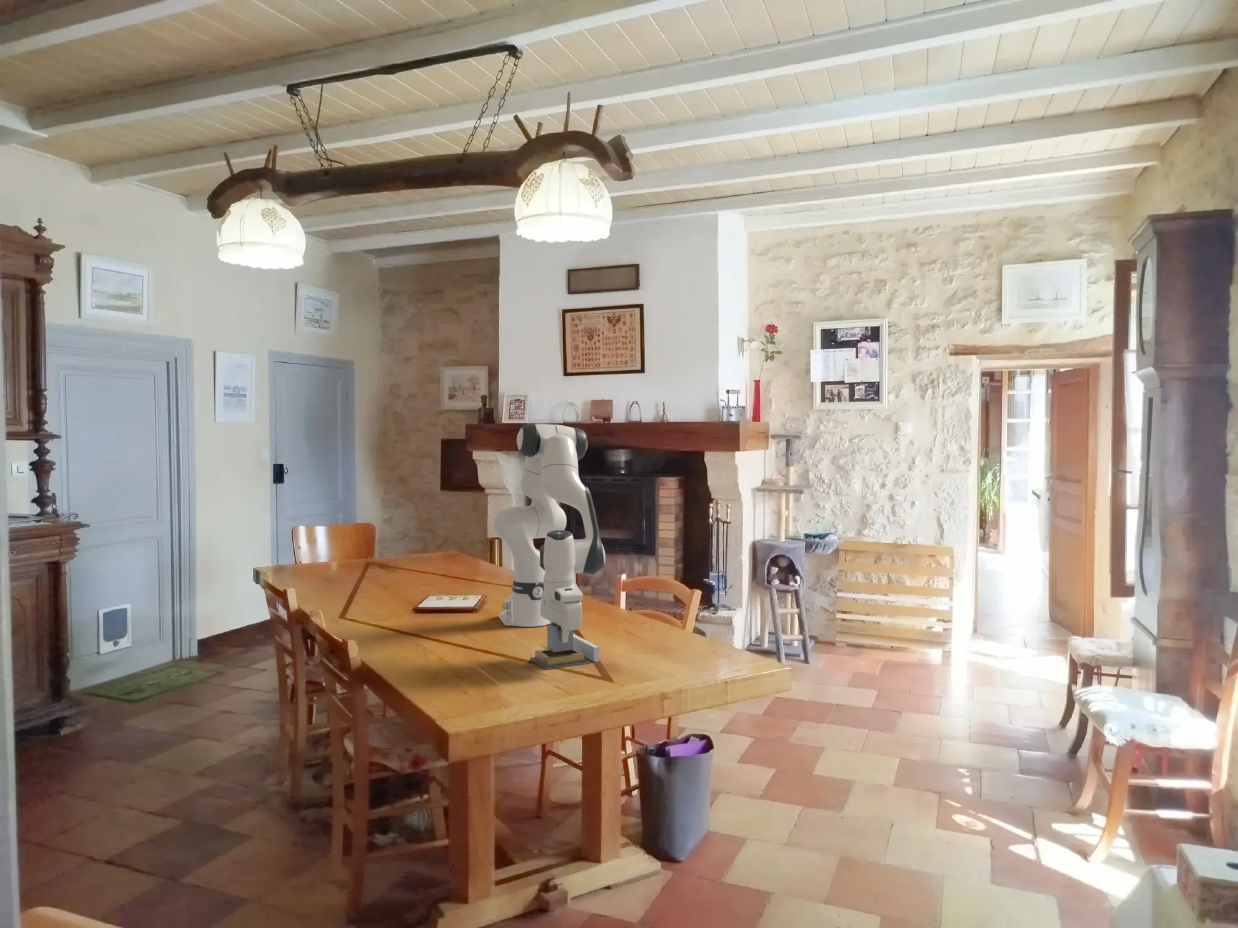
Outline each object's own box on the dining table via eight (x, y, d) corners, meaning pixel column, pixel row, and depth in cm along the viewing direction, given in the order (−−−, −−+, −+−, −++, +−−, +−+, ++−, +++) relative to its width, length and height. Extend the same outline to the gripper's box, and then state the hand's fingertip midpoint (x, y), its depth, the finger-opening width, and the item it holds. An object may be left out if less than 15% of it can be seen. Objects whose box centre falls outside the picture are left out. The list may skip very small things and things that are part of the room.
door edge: (567, 646, 246) (567, 633, 246) (571, 646, 247) (571, 632, 247) (594, 661, 231) (594, 647, 230) (599, 661, 231) (599, 646, 231)
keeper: (530, 659, 233) (530, 650, 233) (572, 653, 239) (572, 644, 239) (545, 669, 223) (545, 660, 223) (589, 663, 229) (589, 653, 229)
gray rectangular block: (547, 648, 231) (547, 623, 231) (567, 646, 234) (566, 621, 234) (553, 652, 228) (553, 626, 227) (573, 649, 231) (573, 624, 230)
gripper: (534, 585, 238) (535, 633, 238) (564, 597, 220) (564, 649, 220) (555, 583, 241) (555, 630, 241) (585, 595, 223) (586, 646, 223)
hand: (560, 639), depth 231 cm, fingers closed on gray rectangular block, 4 cm apart
